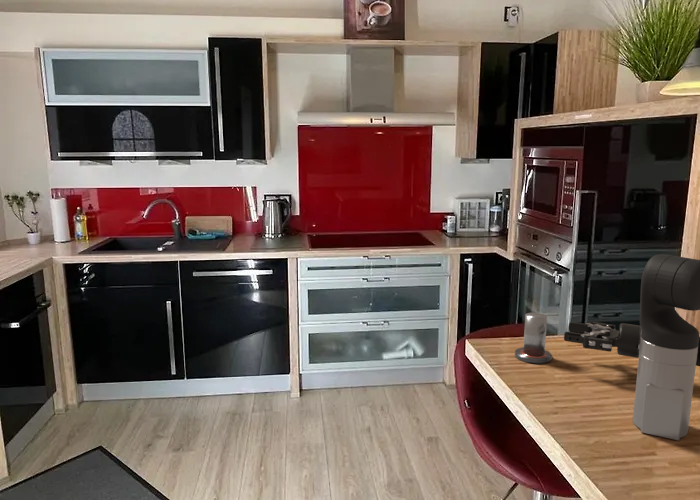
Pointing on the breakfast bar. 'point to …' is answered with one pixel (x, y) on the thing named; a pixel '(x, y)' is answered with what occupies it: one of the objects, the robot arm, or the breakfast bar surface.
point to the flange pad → (531, 359)
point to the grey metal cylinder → (535, 334)
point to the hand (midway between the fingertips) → (566, 330)
